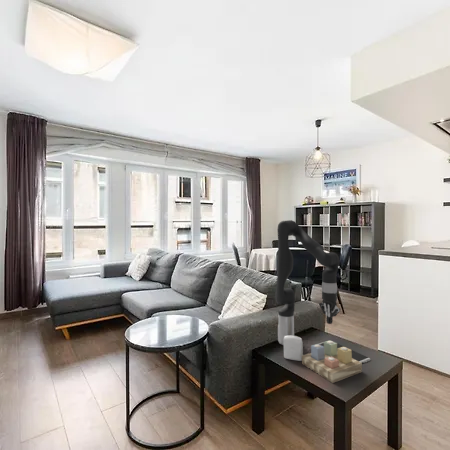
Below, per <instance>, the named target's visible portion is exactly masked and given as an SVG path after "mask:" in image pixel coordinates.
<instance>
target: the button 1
mask: <svg viewBox="0 0 450 450" xmlns="http://www.w3.org/2000/svg"><path fill="white" fill-rule="evenodd" d="M319 344H320V343H316V344H312V345H310V353H311V357H312V358H314V359H315V360H317V361H319V360H322V359H324V358H325V355H324V347H323V346H321V345H319Z"/></svg>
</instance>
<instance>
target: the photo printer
mask: <svg viewBox="0 0 450 450" xmlns="http://www.w3.org/2000/svg"><path fill="white" fill-rule="evenodd" d="M303 344H304V343H303V339H302V338H301V337H300V336H297V335H294V336H292V335H288V336H285V337H284V345H283V358H284V359H287V360H292V361H298V362H302V356H303V355H304V346H303Z"/></svg>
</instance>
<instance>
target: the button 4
mask: <svg viewBox="0 0 450 450" xmlns="http://www.w3.org/2000/svg"><path fill="white" fill-rule="evenodd" d="M350 349H351V348H349V349H348V347H347V348H346V346H344V347H341V348H337V350H338V360H339V361H340V362H342V363H344V364H348V363H351V362H352V350H353V349H351V350H350Z"/></svg>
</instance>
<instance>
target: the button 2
mask: <svg viewBox="0 0 450 450" xmlns="http://www.w3.org/2000/svg"><path fill="white" fill-rule="evenodd" d="M323 342H324V353H325V354H326V355H328V356H330V357H331V356H335V355H337V343H338V342H336V341H333V340H326V341H323ZM335 342H336V343H335Z"/></svg>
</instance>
